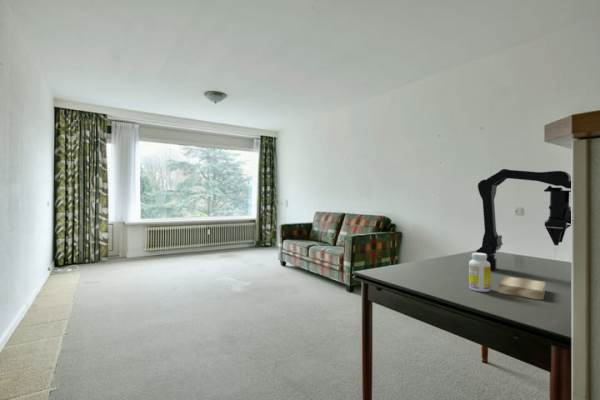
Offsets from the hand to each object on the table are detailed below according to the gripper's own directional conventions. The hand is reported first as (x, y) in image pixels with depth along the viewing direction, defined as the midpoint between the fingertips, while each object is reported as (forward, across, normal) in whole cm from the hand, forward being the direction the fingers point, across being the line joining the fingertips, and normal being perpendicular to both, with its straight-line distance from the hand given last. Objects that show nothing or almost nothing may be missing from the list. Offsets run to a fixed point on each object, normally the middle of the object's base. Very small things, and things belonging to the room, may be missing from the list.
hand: (558, 243), depth 123 cm
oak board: (+14, -26, +6) cm, 30 cm away
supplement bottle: (+14, -33, +18) cm, 40 cm away
